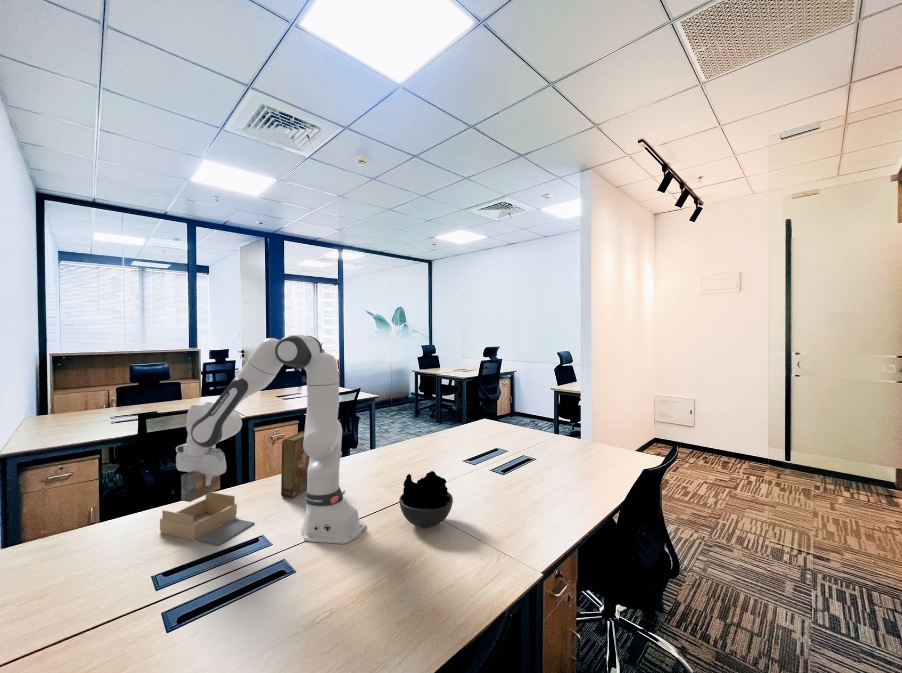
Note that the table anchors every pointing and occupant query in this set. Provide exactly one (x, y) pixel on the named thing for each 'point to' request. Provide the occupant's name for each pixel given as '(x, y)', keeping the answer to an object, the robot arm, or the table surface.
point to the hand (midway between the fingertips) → (201, 484)
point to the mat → (226, 532)
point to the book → (294, 466)
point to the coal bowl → (425, 500)
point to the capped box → (197, 486)
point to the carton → (184, 518)
